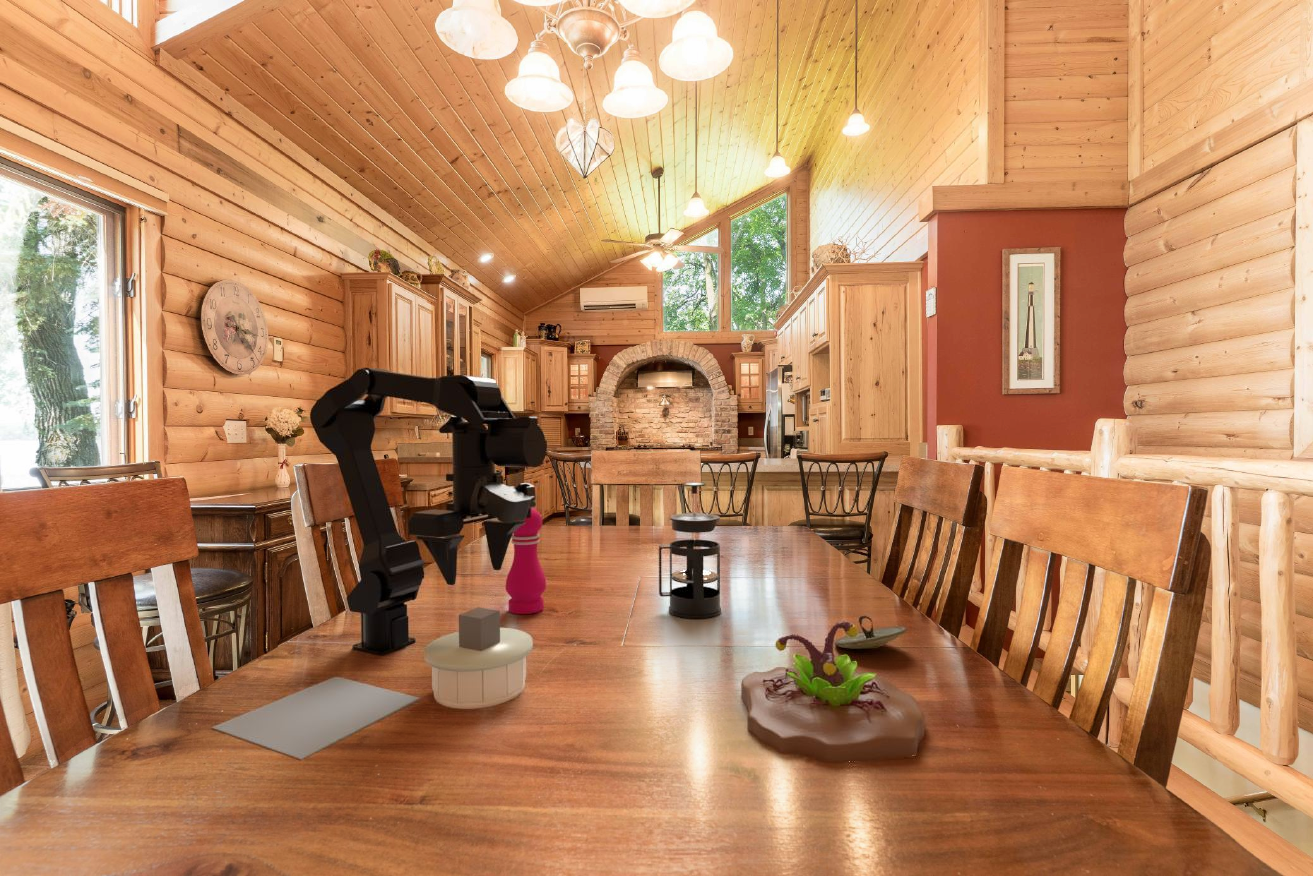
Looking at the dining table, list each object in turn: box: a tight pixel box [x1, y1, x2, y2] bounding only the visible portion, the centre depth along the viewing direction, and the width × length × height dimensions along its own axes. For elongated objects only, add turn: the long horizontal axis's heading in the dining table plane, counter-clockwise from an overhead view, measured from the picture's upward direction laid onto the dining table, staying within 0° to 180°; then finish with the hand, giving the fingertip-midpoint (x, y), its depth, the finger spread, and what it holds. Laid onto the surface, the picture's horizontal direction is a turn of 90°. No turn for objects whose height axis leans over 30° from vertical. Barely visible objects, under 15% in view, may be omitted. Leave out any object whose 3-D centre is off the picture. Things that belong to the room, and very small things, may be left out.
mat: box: [211, 676, 421, 761], centre depth 71 cm, size 15×15×1 cm
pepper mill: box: [505, 507, 547, 615], centre depth 111 cm, size 7×7×20 cm
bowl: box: [431, 656, 527, 710], centre depth 77 cm, size 11×11×5 cm
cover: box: [423, 607, 534, 672], centre depth 77 cm, size 13×13×5 cm
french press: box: [658, 481, 722, 620], centre depth 110 cm, size 12×9×23 cm
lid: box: [833, 615, 908, 650], centre depth 90 cm, size 11×10×5 cm
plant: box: [740, 620, 925, 764], centre depth 70 cm, size 20×20×11 cm
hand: (475, 577), depth 86 cm, fingers open, 9 cm apart
